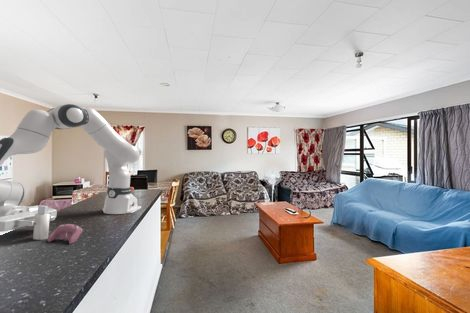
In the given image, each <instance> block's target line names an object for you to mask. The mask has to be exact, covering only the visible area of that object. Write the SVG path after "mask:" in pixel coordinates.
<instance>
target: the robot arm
mask: <svg viewBox="0 0 470 313" xmlns="http://www.w3.org/2000/svg"><path fill="white" fill-rule="evenodd" d="M77 127H80V128H82V129H83V130H84V131H85V132H86V133H87V135H89V136H90V137H91V138H92V139H93V140H94V141H95V143H97V144H98V145H99V146H100V147H102V148H104V149H105V150H104V152H103V153H104V158H105V159H106V162H107V167H108V186H107V189H106V191H107V192H106V194H107V195H106V196H105V198H104V204H103V208H102V211H103V213H104V214H107V215H123V214H133V213H135V212H136V211H139V210H140V209H142V206H141V205H138V198H137V197H136V196H135V195H134V194H132V191H134V190H135V188H134V187H133V186H130V185H131V175H132V174H131V172H130V171H129V168H128V165H130V164H133V163H136V162H137V161H139V159H140V154H141V153H140V150H139V149H138V148H137V146H135V145H133V144H131V143H130V142H128V141H127V140H126V139H125V138H123V137H122V136H121V135H120V134H119V133H118V132H117V131H116V130H115V129H114V128H113V126H112V125H111V124H110V123H109V122H108V121H107V120H106V119H105V118H104V116H102V115H101V114H100V112H98V111H97V110H96V109H95V108H92V107H85V108H83V107H81V106H78V105H76V104H71V103H67V104H63V105H62V104H61V105H58V106H56V107H53V108H51V109H49V110H44V109H37V108H36V109H35V108H33V109H30V110H29V111H28V112H27V113H26V114H25V115H24V117H23V118H22V119H21V120H20V122H19V124H18V125H17V127H16V129H15V130H14V132H13V133H12V134H11V135H9V136H8V137H3V138H1V139H0V168H1V167H2V165H3V164H4V163H5V162H6V160H7V159H8V158H10V157H12V156H16V155H30V154H35V153H39V152H41V151H43V149H45V147H46V145H47V144H48V142H49V140H50V137H51V135H52V132H53V131H54V130H55V129H56V130H71V129H74V128H77ZM24 196H25V188H24V187H23V185H22V184H21V183H20V182H16V181H12V180H11V181H10V180H4V179H0V233H1V232H3V233H4V232H8V231H13V230H17V228H18V229H20V228H23V227H34V225H36V220H34V219H35V214H36V213H38V206H39V205H36V204H35V205H34V204H33V205H20V204H21V203H22V202H23V199H24ZM48 213H49V214H50V220H49V222H52V221H55V220H56V218H57V214H58V211H57V209H55V208H50V207H48Z"/></svg>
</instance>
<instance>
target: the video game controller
mask: <svg viewBox="0 0 470 313" xmlns="http://www.w3.org/2000/svg"><path fill="white" fill-rule="evenodd" d="M68 233H69V234H68ZM82 233H83V228H82V227H81V226H79V225H77V224H74V223H73V224H71V223H66V224H60V225H59V226H57V227H56V228H55V229H54V230H53V231H52V232H51V233H50V234H49V235H48V238H47V242H49V243H52V242H53V241H54V240H56V239H57V238H59V240H62V241H64V240H68V243H69V245H72V244H74V243H76V242H77V240H78V239H79V237H80V236H81V235H82Z"/></svg>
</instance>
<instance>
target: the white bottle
mask: <svg viewBox="0 0 470 313" xmlns="http://www.w3.org/2000/svg"><path fill="white" fill-rule="evenodd" d="M48 208H49V206H48V205H38V213H36V214H35V219H34V220H36V225H34V226H33V230H32V231H33V234H32V240H39V241H40V240H41V241H42V240H48V237H49V231H50V221H49V220H50V214H49V213H48Z"/></svg>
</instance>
